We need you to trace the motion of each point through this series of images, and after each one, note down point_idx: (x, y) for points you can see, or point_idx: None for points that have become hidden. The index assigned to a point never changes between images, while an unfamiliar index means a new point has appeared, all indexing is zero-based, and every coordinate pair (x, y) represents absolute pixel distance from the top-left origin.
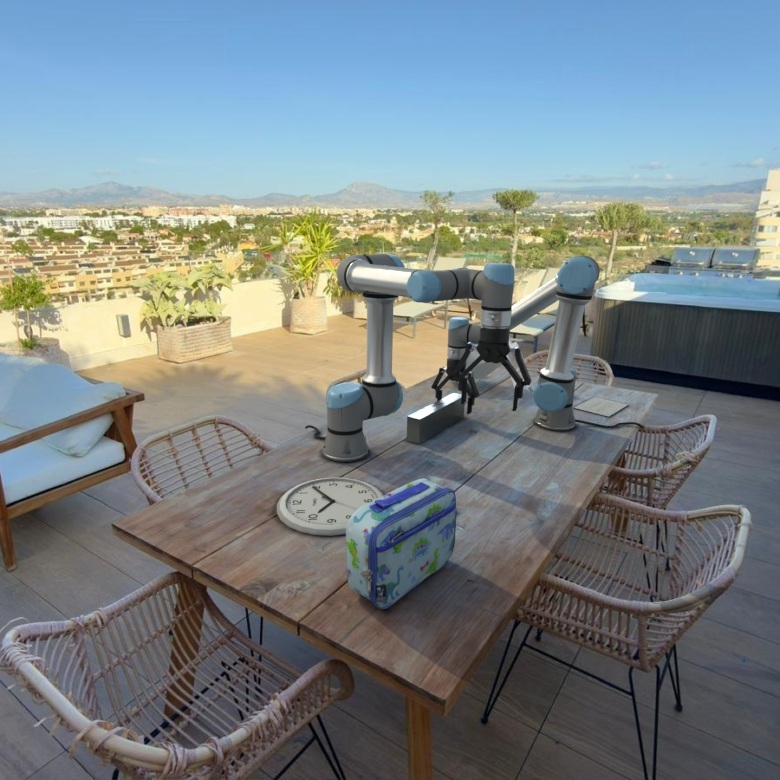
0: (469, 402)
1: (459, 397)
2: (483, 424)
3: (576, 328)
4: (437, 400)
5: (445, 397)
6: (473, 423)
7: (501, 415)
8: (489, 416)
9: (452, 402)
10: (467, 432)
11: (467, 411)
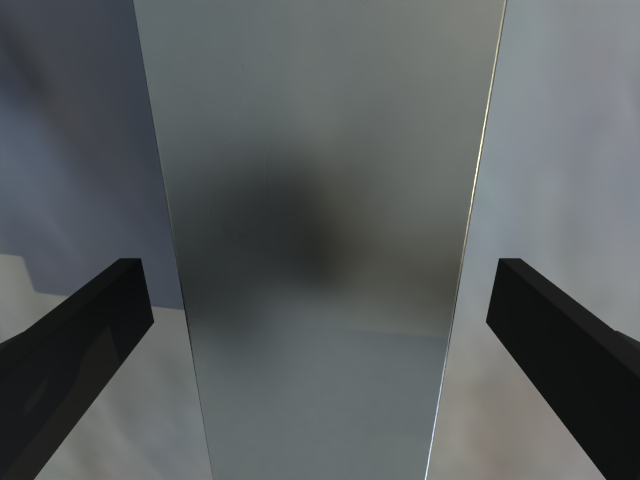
0: (7, 348)
1: (224, 415)
2: (67, 275)
3: None
4: (564, 299)
5: (440, 280)
6: (134, 249)
7: (102, 469)
8: (143, 422)
9: (150, 87)
10: (17, 3)
11: (121, 271)
